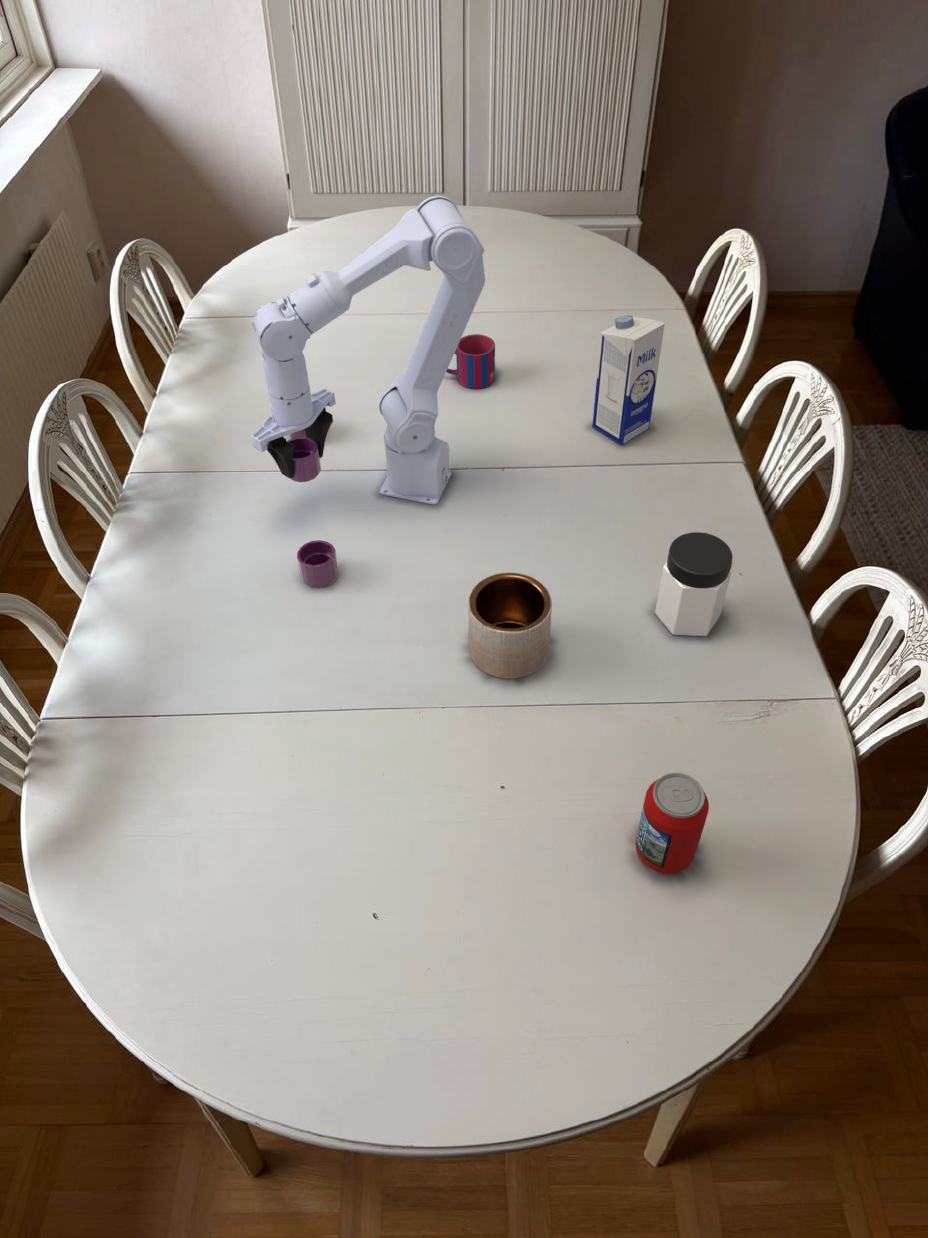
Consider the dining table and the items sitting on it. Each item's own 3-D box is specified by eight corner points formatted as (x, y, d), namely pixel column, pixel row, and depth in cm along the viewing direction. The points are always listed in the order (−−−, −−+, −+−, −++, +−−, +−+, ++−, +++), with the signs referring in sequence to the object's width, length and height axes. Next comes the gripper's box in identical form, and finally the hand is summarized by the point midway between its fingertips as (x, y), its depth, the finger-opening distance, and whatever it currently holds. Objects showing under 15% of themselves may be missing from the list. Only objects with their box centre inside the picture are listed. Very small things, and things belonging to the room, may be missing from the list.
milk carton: (620, 446, 163) (634, 339, 148) (591, 427, 167) (601, 321, 152) (650, 428, 166) (666, 321, 151) (620, 410, 170) (632, 304, 155)
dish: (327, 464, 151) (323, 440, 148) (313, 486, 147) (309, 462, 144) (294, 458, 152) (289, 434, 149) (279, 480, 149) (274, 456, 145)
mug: (492, 390, 174) (493, 356, 169) (436, 387, 175) (434, 353, 170) (496, 368, 179) (496, 334, 174) (441, 365, 180) (439, 332, 175)
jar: (731, 626, 136) (748, 564, 128) (681, 647, 134) (694, 585, 125) (693, 584, 142) (707, 522, 133) (644, 603, 140) (655, 541, 131)
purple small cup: (344, 566, 146) (341, 544, 142) (330, 592, 142) (326, 570, 139) (310, 559, 147) (306, 537, 144) (295, 584, 143) (291, 562, 140)
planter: (456, 634, 136) (454, 586, 129) (527, 610, 139) (529, 561, 132) (488, 692, 130) (488, 644, 123) (563, 665, 132) (567, 617, 125)
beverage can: (629, 827, 116) (640, 769, 107) (686, 822, 116) (702, 764, 107) (641, 880, 111) (654, 824, 103) (700, 875, 112) (718, 819, 103)
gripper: (306, 354, 144) (318, 430, 154) (230, 401, 137) (248, 478, 147) (341, 372, 141) (351, 448, 151) (265, 421, 134) (280, 498, 144)
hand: (302, 464), depth 149 cm, fingers closed on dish, 5 cm apart
